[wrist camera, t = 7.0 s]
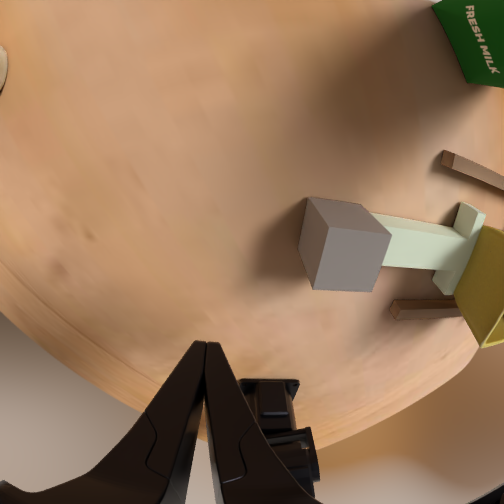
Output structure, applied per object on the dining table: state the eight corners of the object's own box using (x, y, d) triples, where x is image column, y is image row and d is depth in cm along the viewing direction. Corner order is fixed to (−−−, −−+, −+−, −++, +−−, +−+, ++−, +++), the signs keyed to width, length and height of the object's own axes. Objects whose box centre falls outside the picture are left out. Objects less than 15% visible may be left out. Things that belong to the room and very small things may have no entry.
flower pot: (508, 218, 21) (564, 261, 13) (479, 288, 25) (522, 338, 17) (462, 202, 20) (532, 252, 12) (429, 285, 24) (478, 349, 16)
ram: (440, 280, 23) (467, 312, 19) (292, 272, 22) (305, 315, 17) (469, 203, 19) (505, 228, 15) (313, 168, 18) (337, 190, 14)
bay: (479, 306, 26) (490, 319, 24) (389, 309, 25) (399, 327, 23) (527, 189, 19) (542, 198, 17) (444, 149, 17) (463, 157, 15)
